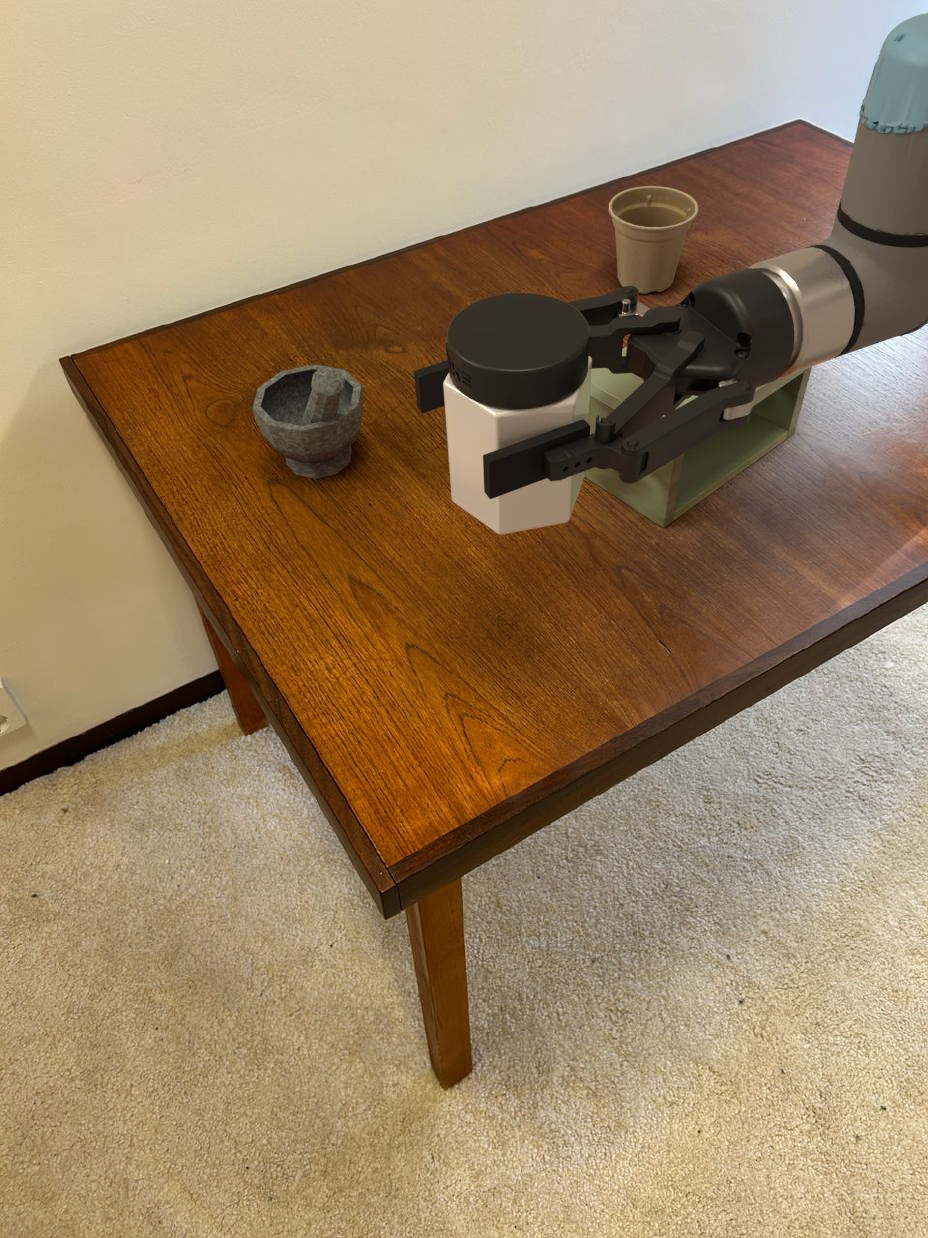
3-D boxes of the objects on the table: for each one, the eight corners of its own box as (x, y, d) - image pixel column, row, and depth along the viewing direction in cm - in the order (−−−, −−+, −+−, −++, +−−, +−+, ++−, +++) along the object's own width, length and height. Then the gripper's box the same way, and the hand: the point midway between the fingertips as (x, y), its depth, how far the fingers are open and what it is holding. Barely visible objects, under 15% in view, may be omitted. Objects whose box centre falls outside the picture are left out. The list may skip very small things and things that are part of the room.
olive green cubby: (794, 433, 90) (816, 350, 83) (663, 528, 83) (676, 445, 76) (693, 380, 96) (707, 298, 90) (563, 463, 89) (567, 381, 82)
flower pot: (685, 306, 105) (696, 229, 99) (599, 299, 107) (604, 224, 100) (689, 262, 111) (700, 187, 105) (607, 257, 113) (613, 183, 106)
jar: (478, 439, 67) (471, 279, 58) (593, 457, 65) (605, 296, 56) (437, 525, 61) (422, 364, 52) (562, 548, 60) (569, 385, 51)
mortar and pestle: (251, 450, 92) (222, 340, 83) (336, 412, 95) (317, 303, 86) (308, 513, 86) (283, 402, 77) (397, 471, 89) (383, 359, 80)
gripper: (858, 460, 59) (538, 591, 53) (661, 300, 72) (385, 392, 66) (894, 356, 54) (541, 489, 48) (673, 202, 67) (372, 292, 61)
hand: (450, 432), depth 57 cm, fingers closed on jar, 8 cm apart
